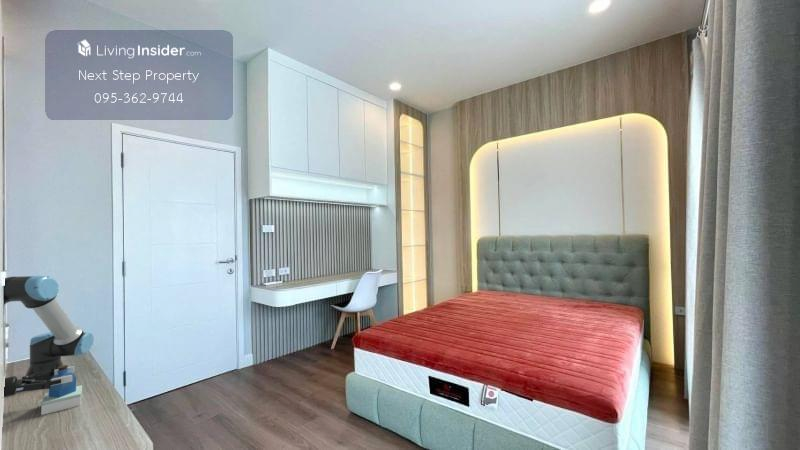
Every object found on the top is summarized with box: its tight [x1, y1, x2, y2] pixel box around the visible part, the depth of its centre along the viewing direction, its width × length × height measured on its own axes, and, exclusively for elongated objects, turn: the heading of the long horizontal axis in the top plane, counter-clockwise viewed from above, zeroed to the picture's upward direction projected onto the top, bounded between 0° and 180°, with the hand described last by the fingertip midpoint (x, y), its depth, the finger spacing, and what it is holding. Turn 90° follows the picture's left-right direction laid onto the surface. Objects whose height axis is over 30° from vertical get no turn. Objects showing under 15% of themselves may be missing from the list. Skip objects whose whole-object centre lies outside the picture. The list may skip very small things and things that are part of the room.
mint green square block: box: [40, 384, 83, 416], centre depth 150 cm, size 12×12×5 cm
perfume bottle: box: [48, 364, 77, 398], centre depth 150 cm, size 6×6×12 cm
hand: (73, 373), depth 152 cm, fingers open, 13 cm apart
